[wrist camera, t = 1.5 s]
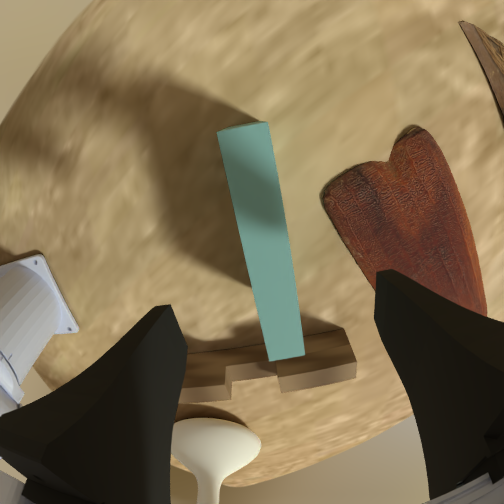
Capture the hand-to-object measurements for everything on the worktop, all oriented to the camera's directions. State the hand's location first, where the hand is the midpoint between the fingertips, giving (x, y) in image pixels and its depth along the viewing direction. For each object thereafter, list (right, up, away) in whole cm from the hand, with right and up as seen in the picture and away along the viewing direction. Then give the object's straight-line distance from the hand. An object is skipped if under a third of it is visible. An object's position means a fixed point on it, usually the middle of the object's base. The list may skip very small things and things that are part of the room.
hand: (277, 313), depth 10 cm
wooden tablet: (+15, 0, +13) cm, 20 cm away
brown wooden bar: (-1, -7, +15) cm, 16 cm away
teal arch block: (0, +5, +10) cm, 11 cm away
